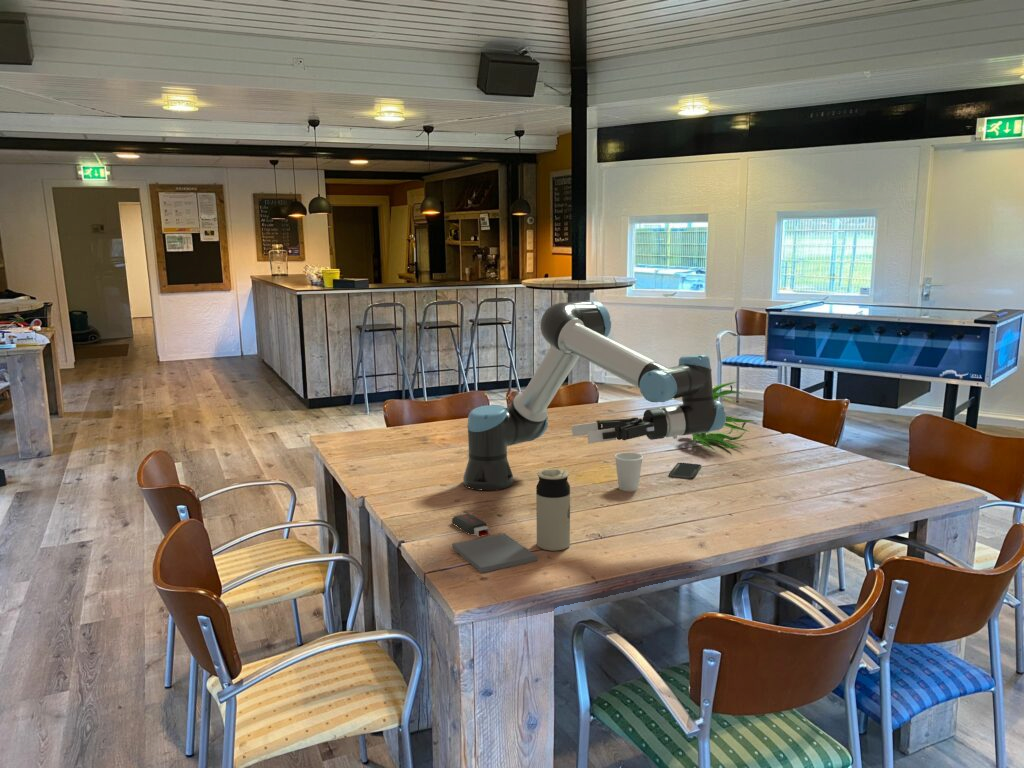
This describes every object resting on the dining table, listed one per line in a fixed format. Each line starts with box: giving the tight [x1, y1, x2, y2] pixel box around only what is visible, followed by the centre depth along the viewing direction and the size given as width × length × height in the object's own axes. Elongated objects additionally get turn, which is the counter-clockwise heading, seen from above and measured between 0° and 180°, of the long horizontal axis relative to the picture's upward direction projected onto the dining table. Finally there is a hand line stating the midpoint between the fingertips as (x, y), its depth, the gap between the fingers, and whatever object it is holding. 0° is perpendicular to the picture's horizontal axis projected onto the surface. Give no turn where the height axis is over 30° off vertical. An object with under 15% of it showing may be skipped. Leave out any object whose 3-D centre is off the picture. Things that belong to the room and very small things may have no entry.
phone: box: [668, 462, 702, 480], centre depth 240 cm, size 8×1×15 cm
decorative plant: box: [691, 381, 755, 452], centre depth 272 cm, size 26×25×30 cm
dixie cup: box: [614, 451, 644, 492], centre depth 223 cm, size 8×8×10 cm
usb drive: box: [451, 512, 490, 538], centre depth 193 cm, size 5×12×3 cm, turn 32°
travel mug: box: [535, 468, 571, 552], centre depth 180 cm, size 8×8×18 cm
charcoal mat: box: [452, 532, 538, 574], centre depth 176 cm, size 16×14×1 cm
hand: (579, 434), depth 182 cm, fingers open, 13 cm apart
